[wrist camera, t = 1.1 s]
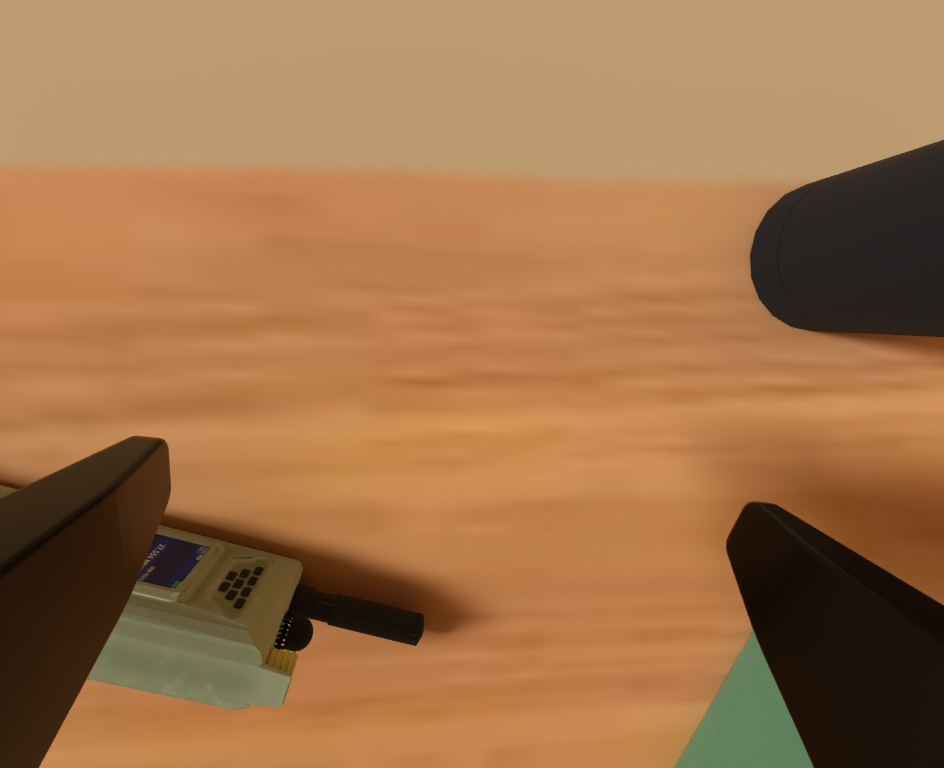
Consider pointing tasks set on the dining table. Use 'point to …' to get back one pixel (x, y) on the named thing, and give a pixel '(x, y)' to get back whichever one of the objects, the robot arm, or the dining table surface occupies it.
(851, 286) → the wine bottle
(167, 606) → the handheld radio
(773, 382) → the dining table surface
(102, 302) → the dining table surface
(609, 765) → the dining table surface
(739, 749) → the board
